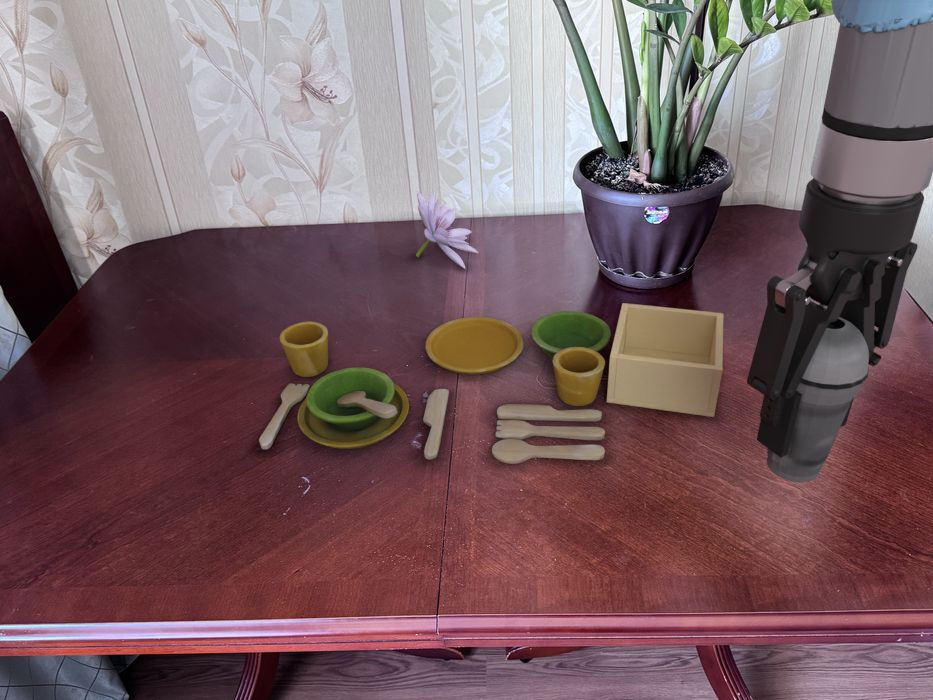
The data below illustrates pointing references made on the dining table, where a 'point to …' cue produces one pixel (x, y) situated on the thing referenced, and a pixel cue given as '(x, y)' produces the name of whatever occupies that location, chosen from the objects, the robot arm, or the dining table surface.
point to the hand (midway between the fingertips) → (801, 432)
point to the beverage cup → (823, 401)
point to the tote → (666, 359)
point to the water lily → (442, 228)
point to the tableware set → (461, 351)
